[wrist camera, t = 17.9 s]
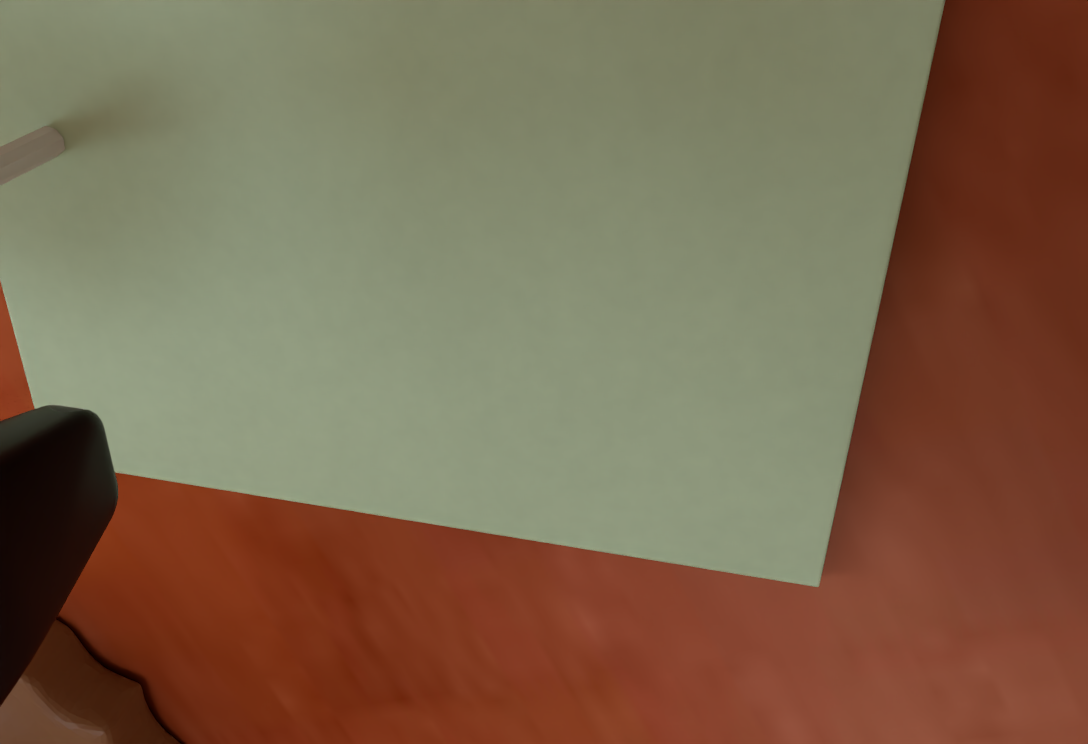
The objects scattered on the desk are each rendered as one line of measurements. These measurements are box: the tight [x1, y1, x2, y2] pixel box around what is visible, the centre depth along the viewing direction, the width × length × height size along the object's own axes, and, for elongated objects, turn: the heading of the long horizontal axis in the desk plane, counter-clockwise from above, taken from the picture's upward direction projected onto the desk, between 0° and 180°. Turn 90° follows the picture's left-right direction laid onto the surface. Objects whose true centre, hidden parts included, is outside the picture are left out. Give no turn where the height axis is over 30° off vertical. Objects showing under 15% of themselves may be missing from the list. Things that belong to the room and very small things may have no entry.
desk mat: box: [0, 0, 945, 587], centre depth 21 cm, size 20×18×1 cm
